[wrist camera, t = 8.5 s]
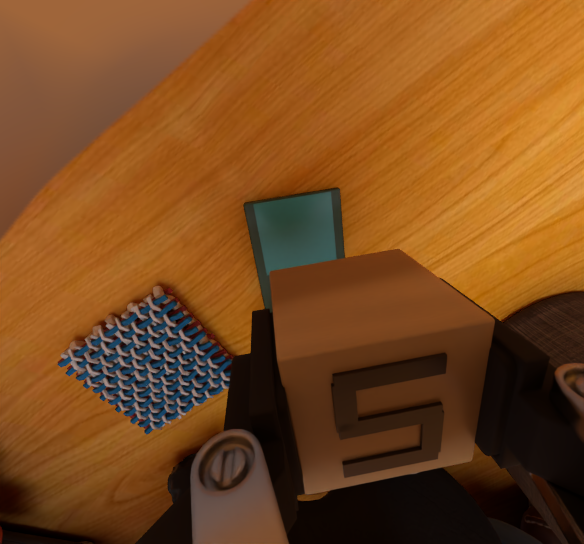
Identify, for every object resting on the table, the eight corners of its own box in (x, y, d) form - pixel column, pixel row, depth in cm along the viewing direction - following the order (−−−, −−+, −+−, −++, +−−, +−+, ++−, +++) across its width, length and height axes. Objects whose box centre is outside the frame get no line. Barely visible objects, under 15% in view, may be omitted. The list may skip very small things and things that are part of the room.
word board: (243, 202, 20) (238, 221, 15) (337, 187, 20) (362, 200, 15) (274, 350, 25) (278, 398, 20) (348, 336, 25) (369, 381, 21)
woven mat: (58, 347, 23) (41, 365, 21) (166, 275, 21) (157, 288, 20) (154, 422, 27) (146, 443, 25) (250, 366, 25) (250, 383, 24)
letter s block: (268, 270, 10) (276, 363, 6) (399, 247, 10) (500, 321, 6) (288, 373, 12) (305, 501, 7) (398, 352, 12) (475, 465, 8)
